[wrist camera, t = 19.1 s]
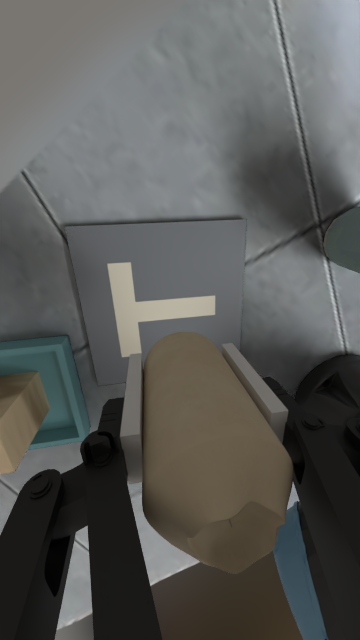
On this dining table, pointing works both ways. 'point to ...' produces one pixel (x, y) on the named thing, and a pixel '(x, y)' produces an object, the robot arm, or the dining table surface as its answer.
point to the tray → (51, 386)
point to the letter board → (156, 286)
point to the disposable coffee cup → (344, 240)
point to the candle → (209, 457)
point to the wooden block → (19, 416)
